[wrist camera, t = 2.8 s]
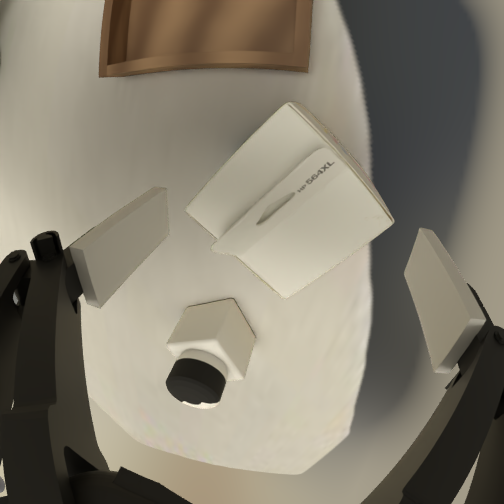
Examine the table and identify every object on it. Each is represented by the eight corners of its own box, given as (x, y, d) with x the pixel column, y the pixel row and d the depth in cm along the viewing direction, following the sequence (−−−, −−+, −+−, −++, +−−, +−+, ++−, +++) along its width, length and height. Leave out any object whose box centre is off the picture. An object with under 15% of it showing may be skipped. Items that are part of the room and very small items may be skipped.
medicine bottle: (186, 306, 36) (145, 377, 26) (233, 296, 34) (200, 378, 24) (211, 343, 39) (182, 413, 29) (257, 337, 37) (234, 416, 26)
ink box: (297, 226, 28) (279, 325, 16) (233, 165, 26) (165, 228, 14) (365, 169, 23) (407, 238, 12) (298, 99, 21) (282, 98, 10)
